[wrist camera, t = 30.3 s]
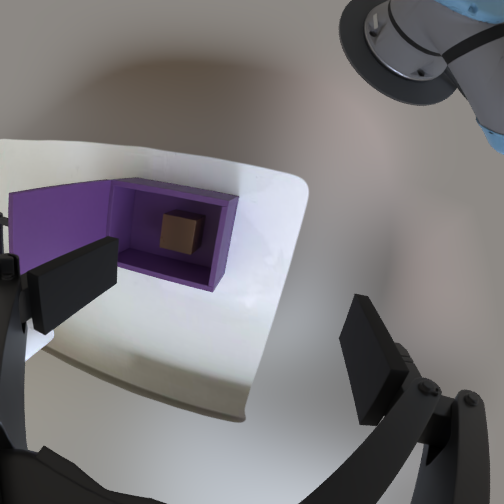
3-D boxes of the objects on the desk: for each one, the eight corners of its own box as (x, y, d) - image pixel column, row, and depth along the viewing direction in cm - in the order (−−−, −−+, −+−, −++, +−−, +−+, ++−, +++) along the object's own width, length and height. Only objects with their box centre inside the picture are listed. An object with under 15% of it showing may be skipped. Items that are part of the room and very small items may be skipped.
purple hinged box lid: (13, 194, 20) (-24, 186, 20) (20, 316, 23) (-17, 294, 24) (111, 180, 38) (71, 174, 38) (104, 264, 41) (66, 252, 42)
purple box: (239, 196, 45) (229, 200, 37) (224, 274, 48) (212, 292, 41) (135, 177, 46) (110, 179, 38) (127, 249, 49) (103, 262, 42)
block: (206, 215, 45) (196, 220, 40) (200, 246, 47) (191, 255, 42) (175, 209, 46) (163, 213, 41) (171, 239, 47) (159, 247, 42)
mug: (20, 302, 57) (-11, 321, 46) (51, 315, 56) (18, 338, 45) (26, 330, 59) (-3, 351, 48) (56, 344, 58) (27, 369, 47)
